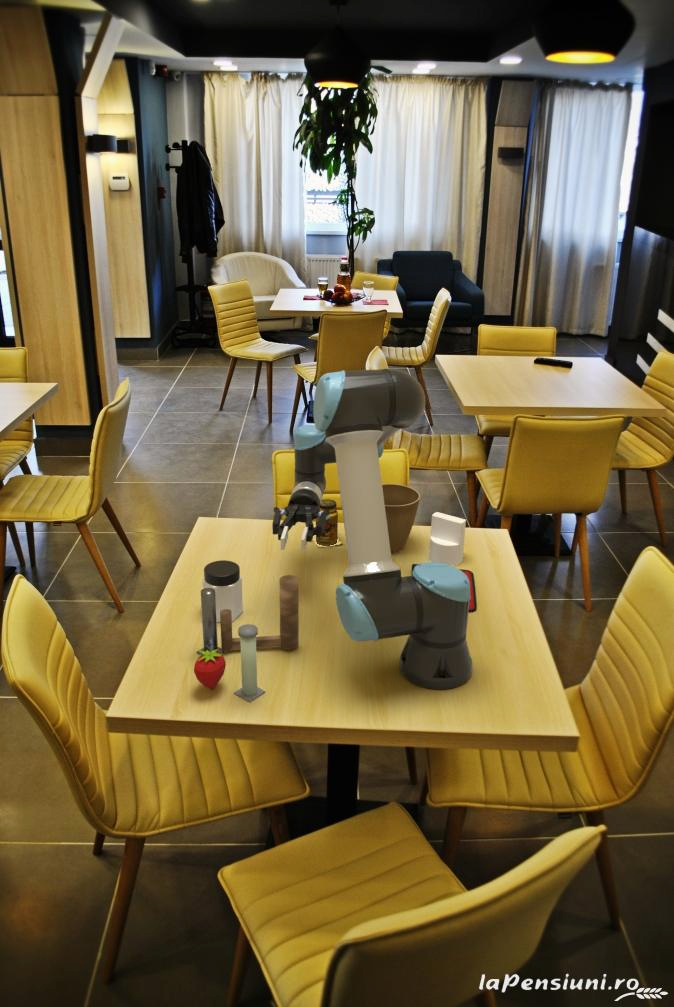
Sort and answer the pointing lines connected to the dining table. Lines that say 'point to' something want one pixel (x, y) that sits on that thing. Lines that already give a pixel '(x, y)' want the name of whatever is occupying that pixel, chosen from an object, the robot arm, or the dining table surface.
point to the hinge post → (209, 621)
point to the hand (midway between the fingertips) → (292, 544)
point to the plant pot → (399, 513)
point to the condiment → (329, 524)
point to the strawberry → (209, 668)
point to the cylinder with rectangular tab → (447, 539)
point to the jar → (225, 586)
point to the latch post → (248, 663)
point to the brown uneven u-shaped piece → (287, 621)
